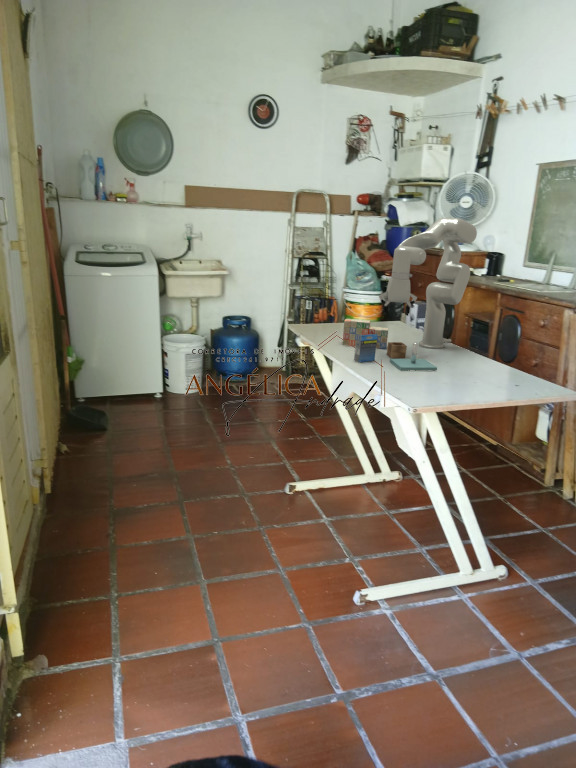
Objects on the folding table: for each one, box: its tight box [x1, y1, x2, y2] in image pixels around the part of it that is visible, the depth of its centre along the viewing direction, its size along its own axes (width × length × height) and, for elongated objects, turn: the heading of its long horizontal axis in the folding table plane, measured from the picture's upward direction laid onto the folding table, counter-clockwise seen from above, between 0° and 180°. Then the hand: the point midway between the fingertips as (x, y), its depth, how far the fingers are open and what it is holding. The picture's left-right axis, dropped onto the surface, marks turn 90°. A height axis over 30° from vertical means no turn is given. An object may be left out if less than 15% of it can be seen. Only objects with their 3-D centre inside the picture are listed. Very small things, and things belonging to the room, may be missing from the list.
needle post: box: [410, 342, 419, 364], centre depth 238 cm, size 2×2×9 cm
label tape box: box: [353, 334, 377, 363], centre depth 243 cm, size 9×4×12 cm, turn 119°
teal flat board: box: [389, 358, 438, 372], centre depth 239 cm, size 16×14×2 cm
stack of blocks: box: [342, 318, 389, 350], centre depth 270 cm, size 21×6×12 cm, turn 77°
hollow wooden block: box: [386, 341, 408, 359], centre depth 253 cm, size 7×7×6 cm
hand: (396, 314), depth 249 cm, fingers open, 9 cm apart
